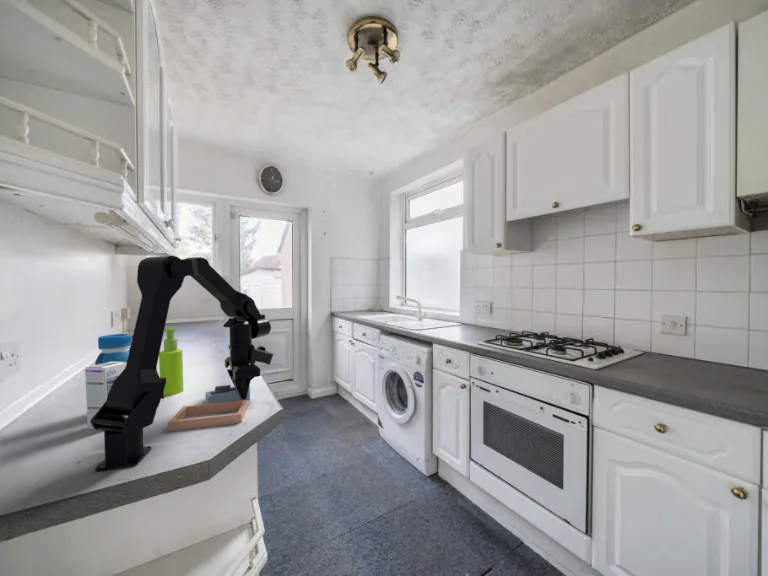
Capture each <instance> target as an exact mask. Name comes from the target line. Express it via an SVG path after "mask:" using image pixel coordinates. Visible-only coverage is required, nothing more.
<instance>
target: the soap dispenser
mask: <svg viewBox="0 0 768 576" xmlns="http://www.w3.org/2000/svg"><path fill="white" fill-rule="evenodd" d="M176 331H177V329H176V328H164V333H165V332H166V339H164V340H163V350H162V351H160V353H159V357H158V363H159V367H158V368H159V377H165V378H166V385H165V387H164V393H163V394H164V397H165V396H166V397H167V396H174V395H178V394H181V393H183V392H184V370H183V369H184V368H183V367H184V366H183V361H184V360H183V349H181V348H180V349H178V339H177V338H176V337H175V332H176ZM174 337H175V338H174Z"/></svg>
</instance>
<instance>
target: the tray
mask: <svg viewBox="0 0 768 576" xmlns="http://www.w3.org/2000/svg"><path fill="white" fill-rule="evenodd" d="M248 408H249V400H239V401H229V402H220V403H210V404H205V403H202V404H192V405H183V406H182V407H181V408H180V409H179V410H178V412H177V413H175V415H173V417H171V419H170V420H169V421H168V422H167V430H168V432H174V431H181V430H190V429H199V428H206V427H215V426H223V425H230V424H238V423H239V424H240V423H242V422H243V420H244V418H245V415H246V412H247V410H248ZM236 410H238V411H237V412H233V413H225V414H216V415H208V416H199V417H191V418H186V417H187V416H190V415H200V414H209V413H218V412H225V411H228V412H229V411H236Z"/></svg>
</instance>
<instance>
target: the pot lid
mask: <svg viewBox="0 0 768 576" xmlns="http://www.w3.org/2000/svg"><path fill="white" fill-rule="evenodd" d="M230 388H231V384H227V385H217V386H215V387H214V391H218V390H222V393H225V392H227V390H229V389H230ZM204 404H206V402H205V403H204Z"/></svg>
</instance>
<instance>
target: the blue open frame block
mask: <svg viewBox="0 0 768 576" xmlns="http://www.w3.org/2000/svg"><path fill="white" fill-rule="evenodd" d="M250 385H251V384H250ZM250 385H249V389H248V393H247V397H246V399H243V400H248V401H249V400H251V388H250V387H251V386H250ZM239 400H242V399H241V397H240V394H239V392H238V390H237V388H236V385H235V383H234V384H233V386H232V387H231V388H230V389H229V390H227V392H225V393H222V390H218V391H215V390H210V391H205V403H206V404H210V403H220V402H229V401H239Z"/></svg>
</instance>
